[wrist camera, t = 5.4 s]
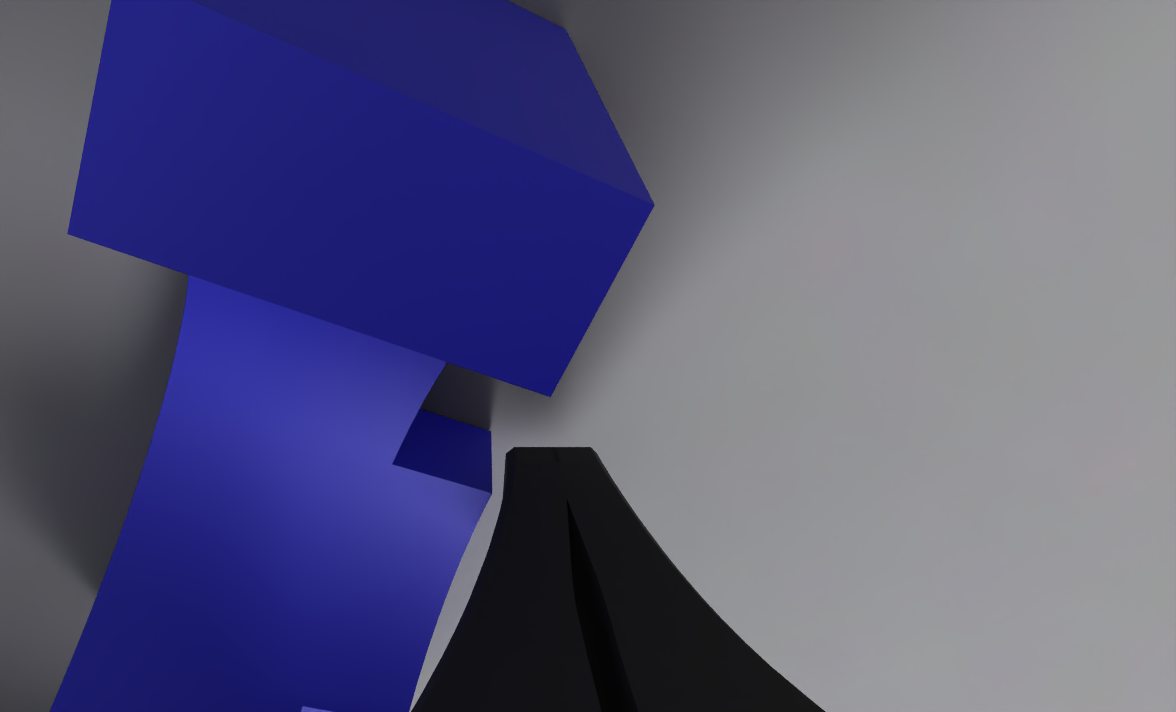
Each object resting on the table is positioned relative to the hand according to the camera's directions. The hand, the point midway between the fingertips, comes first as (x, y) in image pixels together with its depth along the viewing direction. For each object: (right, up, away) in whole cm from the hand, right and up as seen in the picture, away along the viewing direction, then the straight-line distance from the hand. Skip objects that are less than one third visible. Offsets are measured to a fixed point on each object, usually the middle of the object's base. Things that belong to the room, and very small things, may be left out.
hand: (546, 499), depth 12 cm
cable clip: (-3, +2, 0) cm, 3 cm away
